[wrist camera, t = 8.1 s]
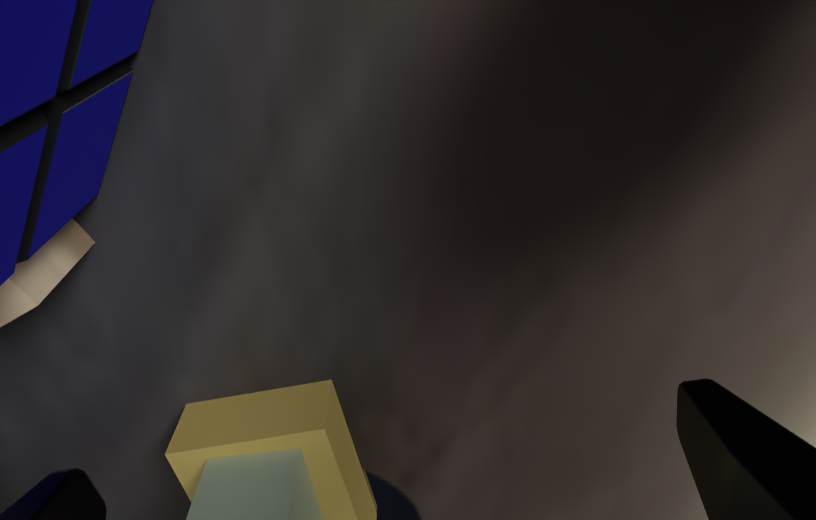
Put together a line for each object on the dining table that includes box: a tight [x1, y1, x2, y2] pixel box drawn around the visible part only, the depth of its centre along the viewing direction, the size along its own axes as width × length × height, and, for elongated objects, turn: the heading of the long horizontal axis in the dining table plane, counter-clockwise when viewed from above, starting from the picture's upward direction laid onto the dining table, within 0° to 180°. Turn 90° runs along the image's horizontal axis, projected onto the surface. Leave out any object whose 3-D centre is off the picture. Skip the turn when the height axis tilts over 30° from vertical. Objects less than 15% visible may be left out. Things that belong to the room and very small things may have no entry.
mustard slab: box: [165, 380, 377, 520], centre depth 25 cm, size 6×8×3 cm
